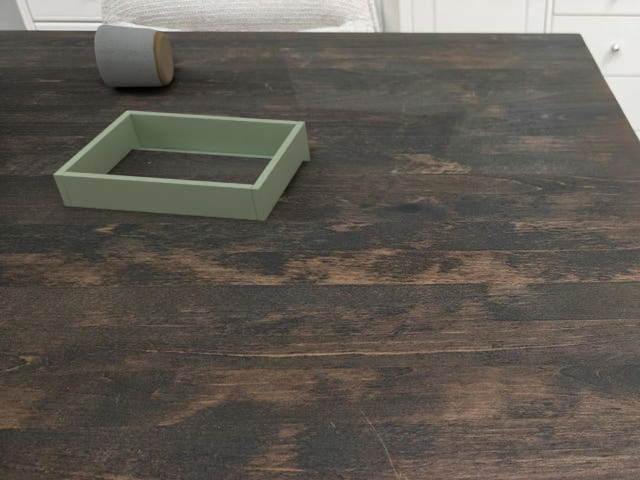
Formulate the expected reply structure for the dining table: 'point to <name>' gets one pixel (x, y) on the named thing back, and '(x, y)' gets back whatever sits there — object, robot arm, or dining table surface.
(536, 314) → the dining table surface
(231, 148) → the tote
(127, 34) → the ceramic mug
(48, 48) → the dining table surface
